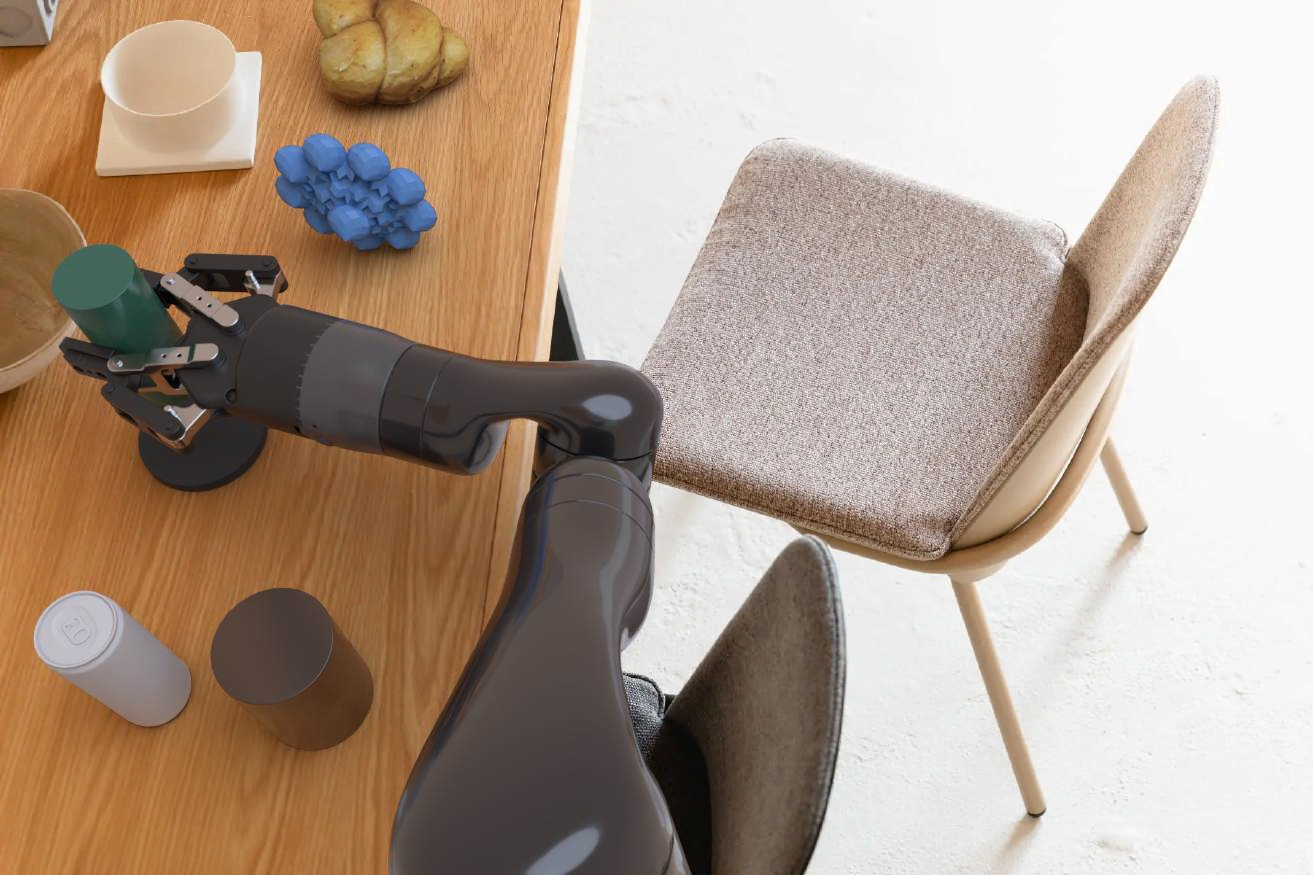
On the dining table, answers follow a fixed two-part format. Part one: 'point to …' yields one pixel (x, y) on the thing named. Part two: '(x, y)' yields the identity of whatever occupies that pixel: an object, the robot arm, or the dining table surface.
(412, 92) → the bread roll
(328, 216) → the grapes
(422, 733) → the dining table surface
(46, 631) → the beverage can
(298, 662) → the stand
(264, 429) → the mat
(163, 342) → the tea tin
